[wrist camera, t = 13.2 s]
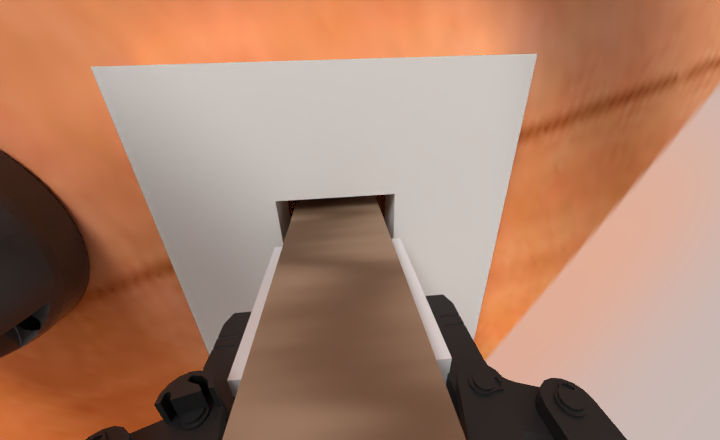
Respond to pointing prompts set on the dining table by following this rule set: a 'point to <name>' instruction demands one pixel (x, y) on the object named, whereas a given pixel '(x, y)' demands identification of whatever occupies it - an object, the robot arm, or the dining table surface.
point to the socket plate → (321, 162)
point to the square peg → (341, 339)
